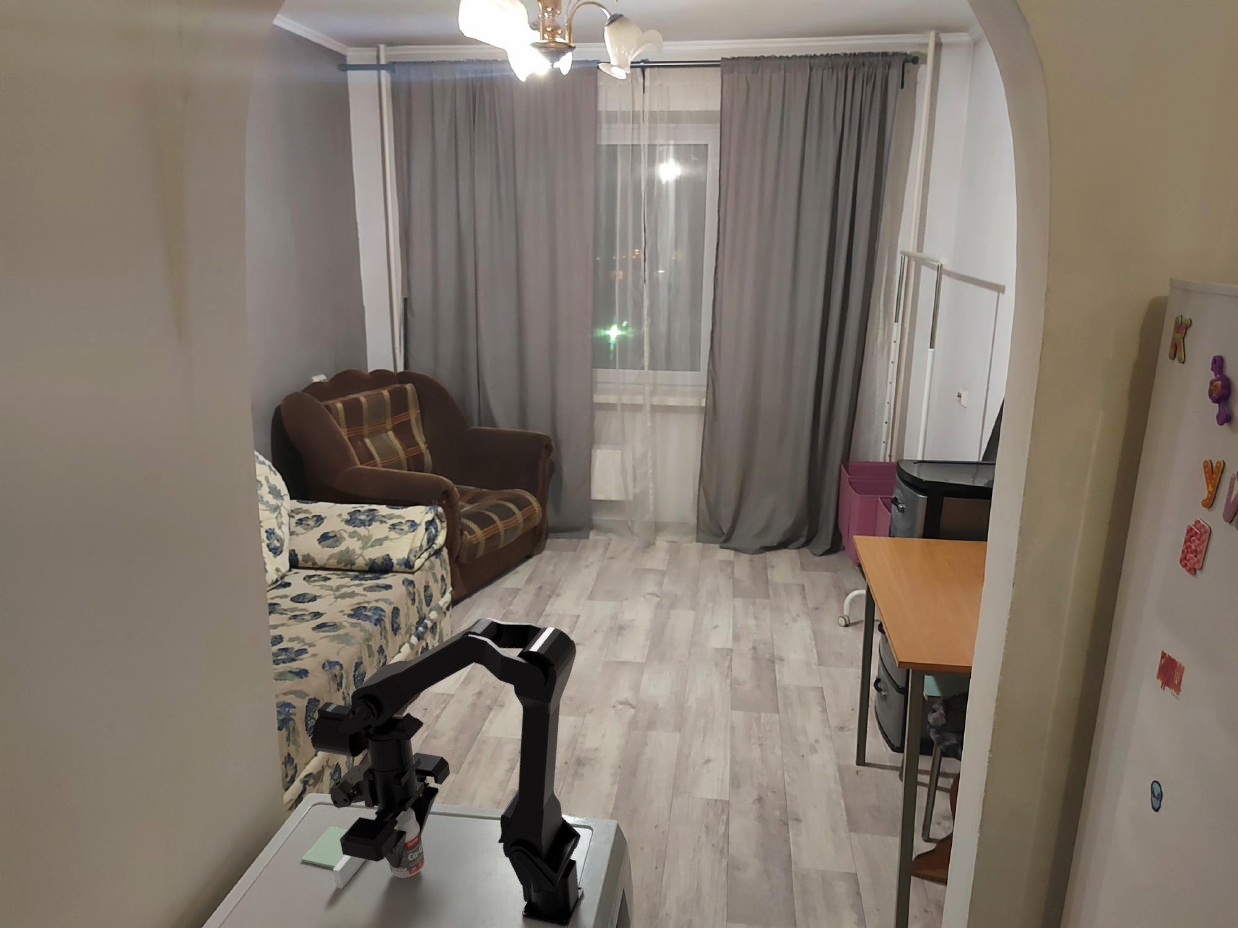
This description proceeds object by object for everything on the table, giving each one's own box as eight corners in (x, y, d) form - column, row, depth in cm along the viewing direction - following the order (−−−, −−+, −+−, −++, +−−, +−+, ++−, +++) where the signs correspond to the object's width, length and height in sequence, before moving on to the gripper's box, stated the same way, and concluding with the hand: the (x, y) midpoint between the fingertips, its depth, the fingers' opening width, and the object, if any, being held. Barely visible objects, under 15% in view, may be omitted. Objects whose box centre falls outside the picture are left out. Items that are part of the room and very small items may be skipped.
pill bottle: (416, 880, 117) (408, 829, 115) (384, 876, 118) (376, 826, 116) (430, 855, 122) (423, 806, 119) (399, 851, 123) (391, 803, 120)
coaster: (370, 836, 128) (370, 833, 128) (342, 869, 121) (342, 867, 121) (331, 828, 130) (330, 825, 130) (301, 860, 124) (301, 858, 123)
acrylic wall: (386, 833, 128) (383, 817, 127) (342, 888, 118) (339, 870, 117) (380, 832, 128) (377, 816, 127) (336, 886, 118) (332, 869, 117)
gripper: (378, 712, 126) (392, 801, 130) (296, 793, 109) (315, 892, 113) (445, 722, 122) (457, 813, 127) (371, 807, 105) (388, 909, 110)
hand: (405, 853), depth 119 cm, fingers closed on pill bottle, 5 cm apart
